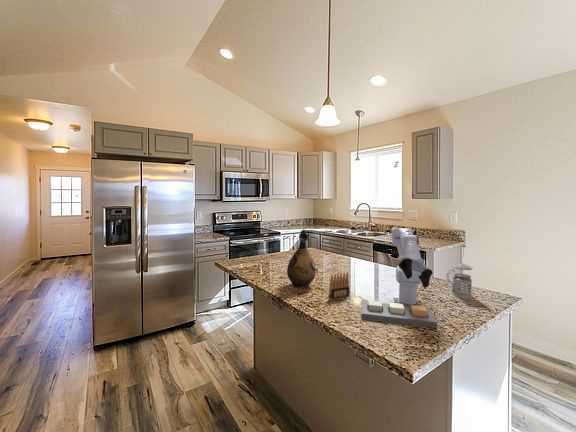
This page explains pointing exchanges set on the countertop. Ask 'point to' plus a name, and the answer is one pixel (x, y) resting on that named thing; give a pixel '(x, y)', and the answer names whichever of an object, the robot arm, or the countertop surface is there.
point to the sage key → (375, 306)
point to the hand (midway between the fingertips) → (417, 281)
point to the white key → (396, 308)
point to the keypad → (398, 316)
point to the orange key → (418, 310)
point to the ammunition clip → (339, 286)
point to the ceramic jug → (301, 265)
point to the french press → (461, 281)
